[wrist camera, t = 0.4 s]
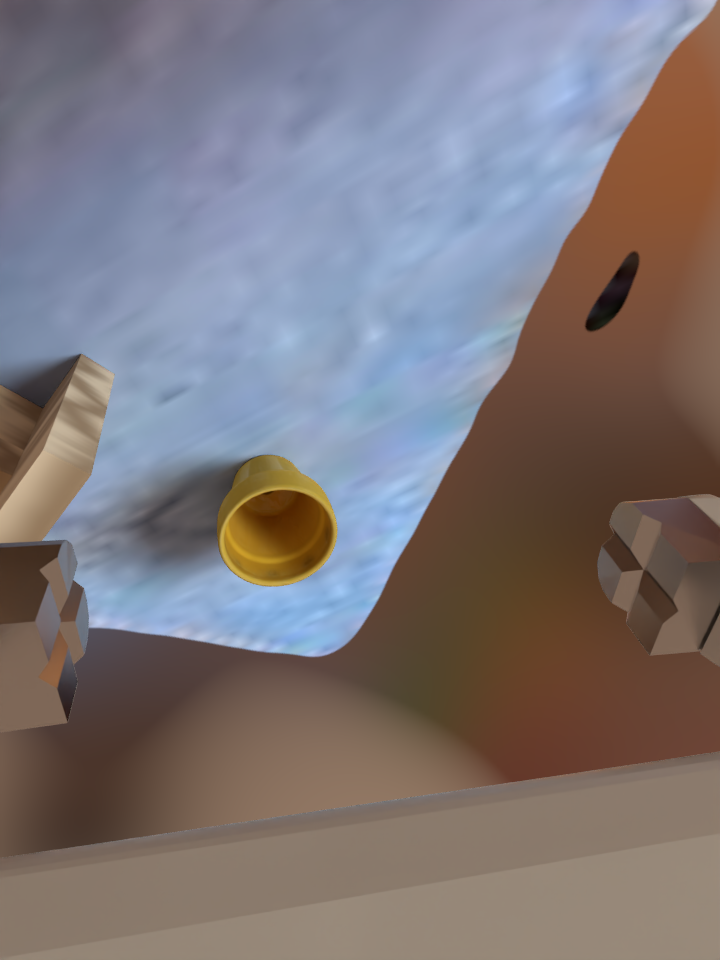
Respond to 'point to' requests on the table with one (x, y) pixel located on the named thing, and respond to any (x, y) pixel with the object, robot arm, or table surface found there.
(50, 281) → the table surface
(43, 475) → the tan blocky piece
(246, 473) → the plant pot
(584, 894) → the robot arm
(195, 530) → the table surface
